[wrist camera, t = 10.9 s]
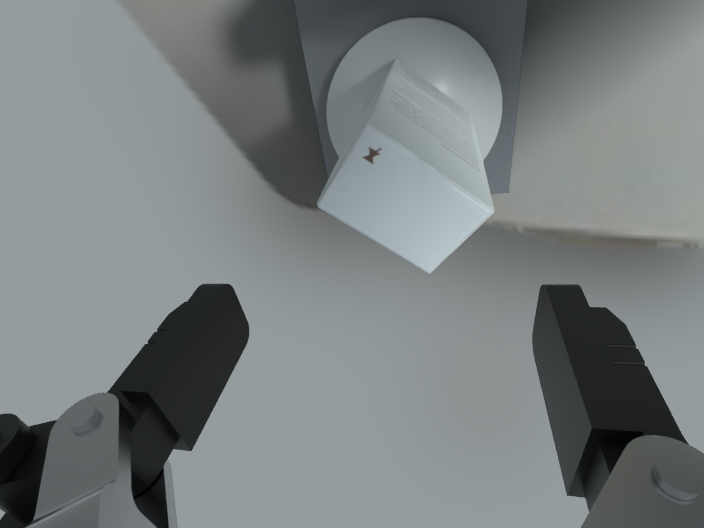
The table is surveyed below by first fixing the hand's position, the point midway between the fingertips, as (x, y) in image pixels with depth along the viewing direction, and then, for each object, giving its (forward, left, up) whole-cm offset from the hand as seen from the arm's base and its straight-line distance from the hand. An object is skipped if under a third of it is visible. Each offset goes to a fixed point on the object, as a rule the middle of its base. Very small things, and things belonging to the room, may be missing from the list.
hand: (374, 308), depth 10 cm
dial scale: (0, -2, -22) cm, 22 cm away
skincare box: (0, 0, -18) cm, 18 cm away
